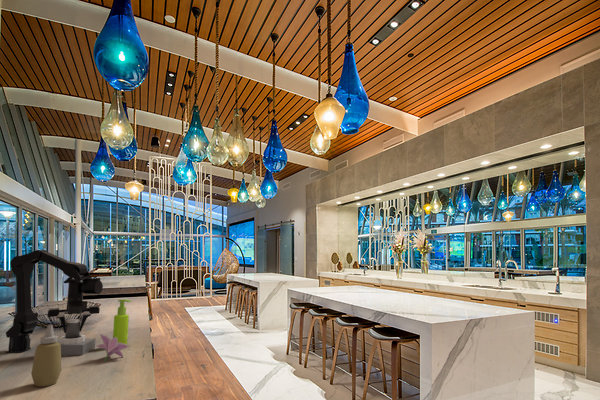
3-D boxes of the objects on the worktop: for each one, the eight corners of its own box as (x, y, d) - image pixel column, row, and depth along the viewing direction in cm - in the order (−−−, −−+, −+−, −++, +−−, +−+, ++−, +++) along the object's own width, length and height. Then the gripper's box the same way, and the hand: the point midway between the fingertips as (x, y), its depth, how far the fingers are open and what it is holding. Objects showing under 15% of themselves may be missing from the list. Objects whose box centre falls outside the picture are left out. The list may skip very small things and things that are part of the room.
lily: (130, 363, 150) (136, 337, 156) (103, 356, 142) (109, 330, 148) (111, 369, 155) (117, 344, 161) (83, 363, 147) (90, 337, 153)
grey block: (69, 339, 160) (71, 321, 161) (62, 337, 163) (63, 320, 163) (82, 336, 164) (83, 319, 165) (74, 335, 167) (75, 318, 168)
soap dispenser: (123, 348, 169) (126, 300, 171) (109, 347, 170) (112, 300, 173) (132, 345, 174) (134, 299, 177) (118, 344, 176) (120, 298, 178)
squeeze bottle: (39, 380, 127) (44, 323, 129) (65, 379, 128) (69, 322, 130) (24, 389, 119) (29, 327, 121) (52, 388, 120) (56, 327, 122)
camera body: (45, 356, 156) (47, 340, 157) (61, 348, 168) (62, 334, 169) (82, 355, 158) (83, 339, 158) (95, 347, 169) (96, 333, 170)
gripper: (48, 297, 154) (45, 338, 152) (101, 294, 164) (99, 333, 162) (49, 294, 164) (46, 333, 162) (99, 292, 173) (97, 328, 171)
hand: (72, 332), depth 164 cm, fingers closed on grey block, 5 cm apart
